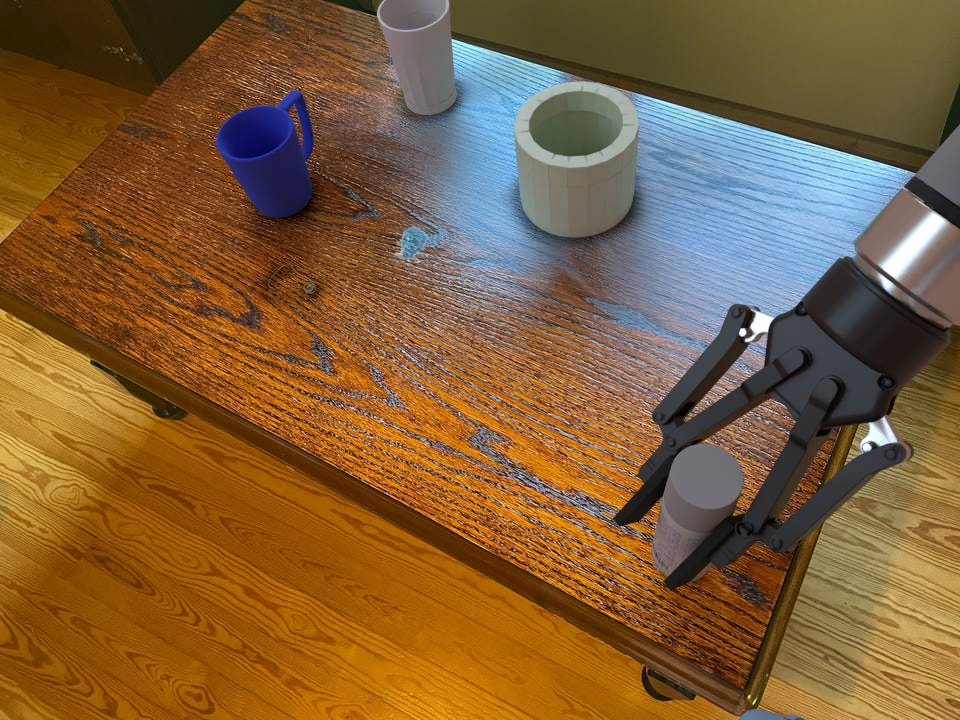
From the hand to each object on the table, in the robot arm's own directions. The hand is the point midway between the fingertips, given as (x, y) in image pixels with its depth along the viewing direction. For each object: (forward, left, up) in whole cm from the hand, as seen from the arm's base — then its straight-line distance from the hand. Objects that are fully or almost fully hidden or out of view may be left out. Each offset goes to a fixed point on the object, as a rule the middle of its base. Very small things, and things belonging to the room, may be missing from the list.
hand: (651, 549), depth 55 cm
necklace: (+46, -6, -9) cm, 47 cm away
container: (-1, -3, -7) cm, 8 cm away
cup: (+52, -36, -9) cm, 64 cm away
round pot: (+28, -32, -9) cm, 43 cm away
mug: (+56, -16, -9) cm, 59 cm away
